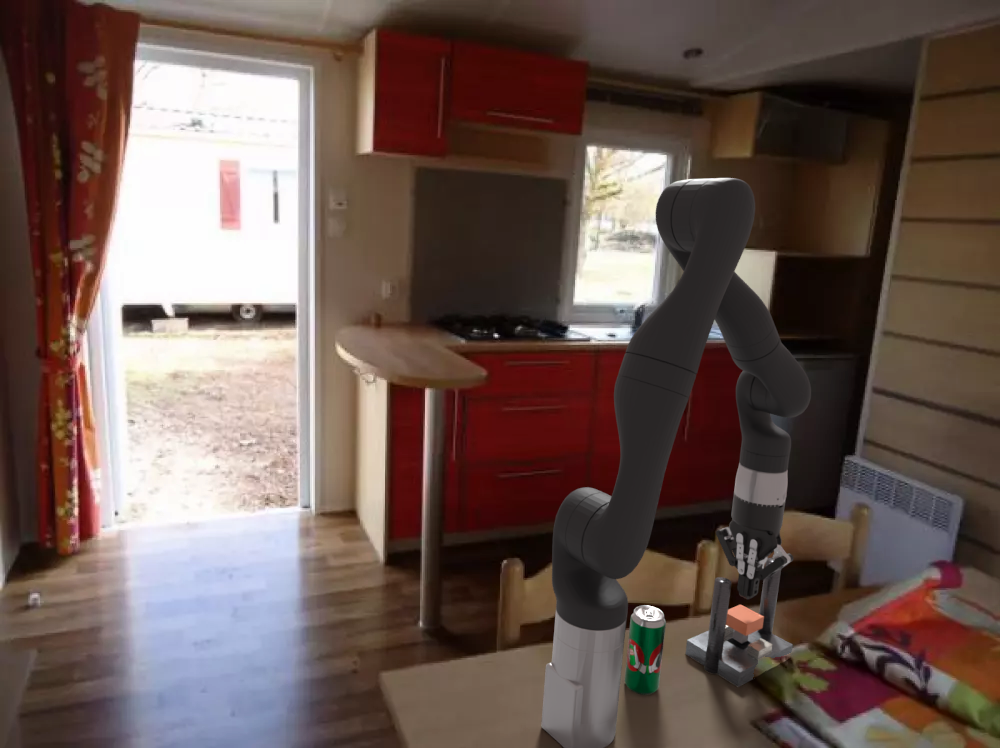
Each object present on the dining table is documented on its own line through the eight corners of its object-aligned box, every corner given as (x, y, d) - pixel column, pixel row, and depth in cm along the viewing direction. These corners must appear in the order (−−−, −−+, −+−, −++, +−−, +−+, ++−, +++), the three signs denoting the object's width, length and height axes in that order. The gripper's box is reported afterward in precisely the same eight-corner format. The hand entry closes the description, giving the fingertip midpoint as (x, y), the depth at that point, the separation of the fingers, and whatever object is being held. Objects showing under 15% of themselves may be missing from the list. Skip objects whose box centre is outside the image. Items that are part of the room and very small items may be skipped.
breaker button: (743, 650, 112) (747, 624, 111) (720, 636, 115) (723, 611, 114) (760, 642, 114) (764, 616, 113) (737, 629, 118) (740, 604, 117)
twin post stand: (734, 689, 107) (746, 597, 104) (681, 655, 115) (691, 569, 112) (793, 656, 116) (806, 571, 113) (741, 628, 124) (752, 547, 121)
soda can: (656, 677, 108) (664, 605, 106) (660, 698, 104) (668, 623, 101) (623, 674, 109) (630, 602, 107) (625, 695, 104) (632, 620, 102)
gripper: (709, 484, 113) (698, 585, 116) (784, 513, 102) (769, 622, 106) (738, 476, 117) (726, 573, 121) (813, 503, 107) (798, 608, 110)
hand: (746, 596), depth 113 cm, fingers closed
